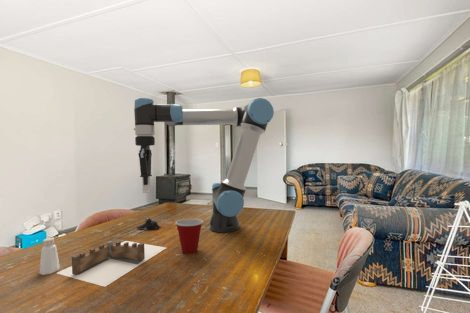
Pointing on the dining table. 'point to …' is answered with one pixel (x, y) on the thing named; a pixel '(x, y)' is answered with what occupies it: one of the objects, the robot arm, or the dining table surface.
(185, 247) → the plastic cup
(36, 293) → the dining table surface
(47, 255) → the salt shaker
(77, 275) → the card
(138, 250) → the wooden notched wall
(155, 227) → the stuffed animal
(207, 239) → the dining table surface
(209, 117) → the robot arm
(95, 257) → the fence fixed
